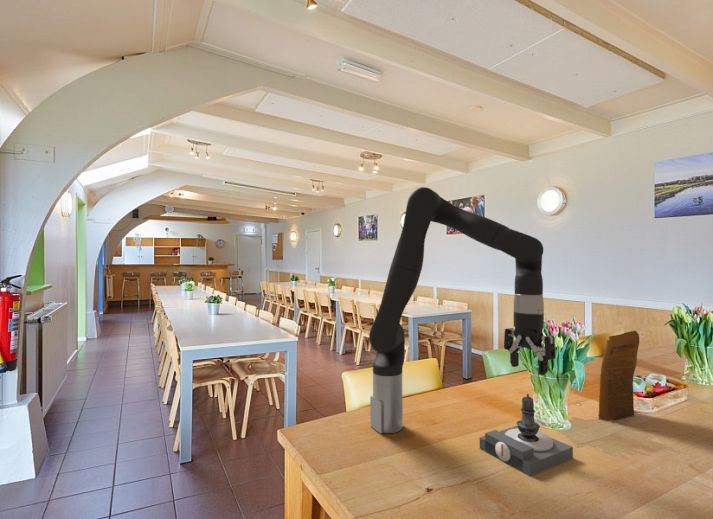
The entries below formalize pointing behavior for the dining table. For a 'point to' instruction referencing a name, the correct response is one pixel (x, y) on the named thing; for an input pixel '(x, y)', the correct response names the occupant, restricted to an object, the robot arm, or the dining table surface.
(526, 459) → the kitchen scale
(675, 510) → the dining table surface
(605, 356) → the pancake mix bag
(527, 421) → the salt shaker
